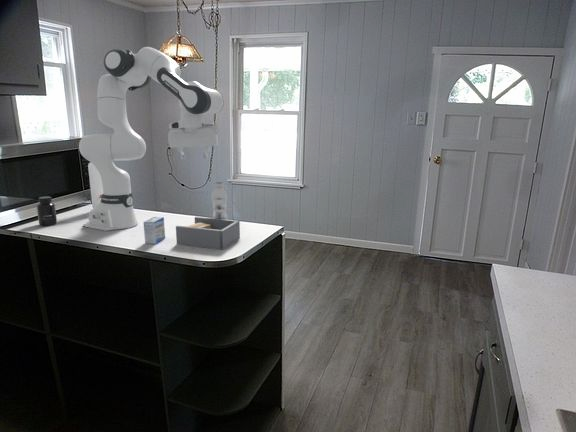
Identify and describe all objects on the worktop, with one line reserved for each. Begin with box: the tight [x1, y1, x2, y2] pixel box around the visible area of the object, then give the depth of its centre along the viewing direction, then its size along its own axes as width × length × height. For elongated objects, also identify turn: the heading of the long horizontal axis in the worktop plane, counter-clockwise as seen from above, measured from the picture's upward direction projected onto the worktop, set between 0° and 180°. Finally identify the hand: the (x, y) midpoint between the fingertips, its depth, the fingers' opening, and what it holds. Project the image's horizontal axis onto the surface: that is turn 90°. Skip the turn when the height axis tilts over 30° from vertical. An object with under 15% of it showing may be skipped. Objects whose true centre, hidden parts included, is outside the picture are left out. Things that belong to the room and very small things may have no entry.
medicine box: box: [143, 216, 166, 245], centre depth 156 cm, size 8×4×9 cm, turn 170°
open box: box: [175, 216, 241, 250], centre depth 156 cm, size 19×15×7 cm
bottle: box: [87, 161, 103, 209], centre depth 197 cm, size 8×8×28 cm
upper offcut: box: [186, 223, 211, 229], centre depth 158 cm, size 6×9×3 cm, turn 145°
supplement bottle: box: [36, 195, 58, 227], centre depth 175 cm, size 7×7×12 cm
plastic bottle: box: [210, 181, 229, 220], centre depth 170 cm, size 6×7×20 cm
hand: (194, 158), depth 167 cm, fingers open, 8 cm apart
